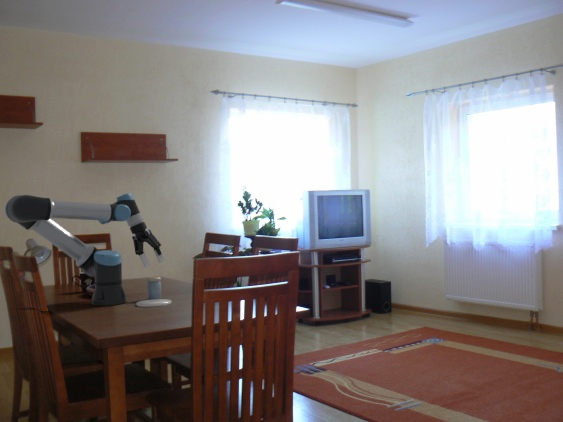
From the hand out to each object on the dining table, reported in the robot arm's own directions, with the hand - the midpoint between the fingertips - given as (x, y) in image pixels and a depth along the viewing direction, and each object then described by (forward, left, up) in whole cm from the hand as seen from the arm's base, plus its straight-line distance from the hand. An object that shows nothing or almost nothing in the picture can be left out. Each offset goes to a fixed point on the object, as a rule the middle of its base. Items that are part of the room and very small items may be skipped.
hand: (154, 264), depth 294 cm
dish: (-20, +21, -15) cm, 33 cm away
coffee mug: (-24, +40, -15) cm, 49 cm away
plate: (-10, -28, -15) cm, 34 cm away
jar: (-5, -14, -15) cm, 21 cm away
